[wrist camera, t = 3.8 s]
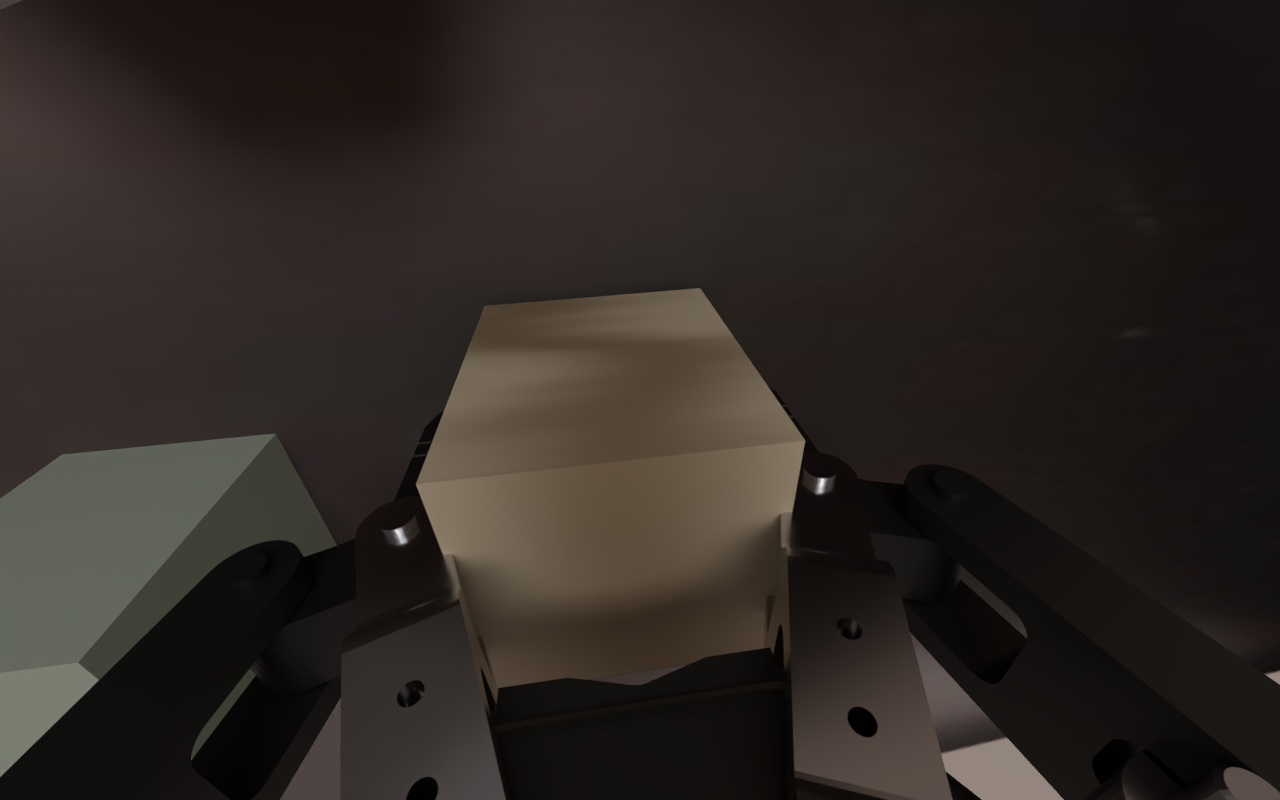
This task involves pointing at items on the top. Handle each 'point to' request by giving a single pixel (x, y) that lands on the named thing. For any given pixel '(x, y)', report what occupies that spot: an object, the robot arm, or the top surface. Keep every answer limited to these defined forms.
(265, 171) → the top surface
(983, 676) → the robot arm
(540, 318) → the maple block
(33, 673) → the sage block
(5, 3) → the die
